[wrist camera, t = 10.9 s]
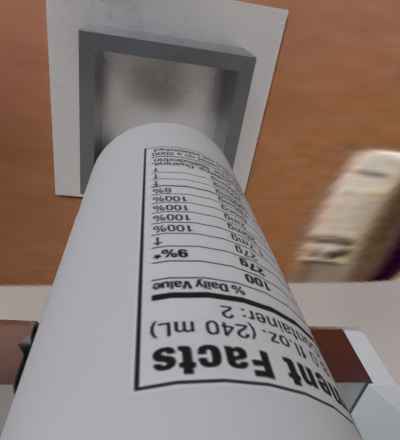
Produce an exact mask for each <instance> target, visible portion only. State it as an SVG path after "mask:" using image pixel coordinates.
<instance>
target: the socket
mask: <svg viewBox="0 0 400 440" xmlns="http://www.w3.org/2000/svg"><path fill="white" fill-rule="evenodd" d="M46 11H47V31H48V51H49V71H50V91H51V112H52V132H53V152H54V172H55V193H56V195H67V196H79V197H83V196H84V193H85V190H86V187H87V184H88V181H89V178H90V176H91V173H92V170H93V168H94V165H95V163H96V160H97V158H98V157H99V155H100V154H101V153H102V151H103V150H104V148H105V147H106V146H107V145H108V144H109V143H110V142H112V141H113V140H114V139H115V138H116V137H117V136H119V135H121V134H123V133H124V132H126V131H128V130H130V129H132V128H135V127H138V126H141V125H144V124H152V123H175V124H179V125H183V126H187V127H190V128H192V129H194V130H196V131H198V132H200V133H202V134H204V135H205V136H206V137H208V138H209V139H210V140H212V141H213V142H214V143H215V144H216V145H217V146H218V147H219V149H220V150H221V151H222V152H223V153H224V155H225V157H226V159H227V161H228V163H229V164H230V166H231V169H232V171H233V173H234V175H235V177H236V179H237V181H238V183H239V185H240V187H241V189H242V191H243V193H245V189H246V185H247V181H248V177H249V172H250V168H251V164H252V160H253V156H254V152H255V148H256V144H257V139H258V135H259V131H260V127H261V123H262V119H263V115H264V110H265V106H266V102H267V98H268V94H269V90H270V86H271V82H272V77H273V73H274V69H275V65H276V61H277V57H278V53H279V48H280V44H281V40H282V36H283V32H284V28H285V24H286V19H287V15H288V11H289V10H284V9H278V8H273V7H267V6H262V5H256V4H251V3H245V2H240V1H234V0H46Z"/></svg>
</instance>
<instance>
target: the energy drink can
mask: <svg viewBox="0 0 400 440" xmlns="http://www.w3.org/2000/svg"><path fill="white" fill-rule="evenodd" d="M0 440H363V438H362V436H361V434H360V432H359V430H358V428H357V426H356V424H355V422H354V420H353V418H352V416H351V414H350V412H349V410H348V408H347V406H346V403H345V401H344V399H343V397H342V395H341V393H340V391H339V389H338V387H337V385H336V383H335V381H334V379H333V377H332V375H331V373H330V370H329V368H328V366H327V364H326V362H325V360H324V358H323V356H322V354H321V352H320V350H319V348H318V346H317V344H316V342H315V340H314V338H313V335H312V333H311V331H310V329H309V327H308V325H307V323H306V321H305V319H304V317H303V315H302V313H301V311H300V309H299V307H298V305H297V302H296V300H295V298H294V296H293V294H292V292H291V290H290V288H289V286H288V284H287V282H286V280H285V278H284V276H283V274H282V272H281V269H280V267H279V265H278V263H277V261H276V259H275V257H274V255H273V253H272V251H271V249H270V247H269V245H268V243H267V241H266V239H265V237H264V234H263V232H262V230H261V228H260V226H259V224H258V222H257V220H256V218H255V216H254V214H253V212H252V210H251V208H250V206H249V204H248V201H247V199H246V197H245V195H244V193H243V191H242V189H241V187H240V185H239V183H238V181H237V179H236V177H235V175H234V173H233V171H232V169H231V166H230V164H229V163H228V161H227V159H226V157H225V155H224V153H223V152H222V151H221V150H220V149H219V147H218V146H217V145H216V144H215V143H214V142H213V141H212V140H210V139H209V138H208V137H206V136H205V135H204V134H202V133H200V132H198V131H196V130H194V129H192V128H190V127H187V126H183V125H179V124H175V123H152V124H144V125H141V126H138V127H135V128H132V129H130V130H128V131H126V132H124V133H123V134H121V135H119V136H117V137H116V138H115V139H114V140H113V141H112V142H110V143H109V144H108V145H107V146H106V147H105V148H104V150H103V151H102V153H101V154H100V155H99V157H98V158H97V160H96V163H95V165H94V168H93V170H92V173H91V176H90V178H89V181H88V184H87V187H86V190H85V193H84V196H83V199H82V202H81V205H80V208H79V210H78V213H77V216H76V219H75V222H74V225H73V228H72V231H71V234H70V237H69V239H68V242H67V245H66V248H65V251H64V254H63V257H62V260H61V263H60V266H59V269H58V271H57V274H56V277H55V280H54V283H53V286H52V289H51V292H50V295H49V298H48V300H47V304H46V306H45V309H44V312H43V315H42V318H41V321H40V324H39V327H38V330H37V332H36V335H35V338H34V341H33V344H32V347H31V350H30V353H29V356H28V359H27V361H26V364H25V367H24V370H23V373H22V376H21V379H20V382H19V385H18V388H17V391H16V393H15V396H14V399H13V402H12V405H11V408H10V411H9V414H8V417H7V420H6V422H5V425H4V428H3V431H2V434H1V437H0Z"/></svg>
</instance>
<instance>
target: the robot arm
mask: <svg viewBox="0 0 400 440" xmlns="http://www.w3.org/2000/svg"><path fill="white" fill-rule="evenodd" d="M38 327H39V323H38V322H37V321H19V320H18V321H17V320H0V437H1V434H2V431H3V428H4V425H5V422H6V420H7V417H8V414H9V411H10V408H11V405H12V402H13V399H14V396H15V393H16V391H17V388H18V385H19V382H20V379H21V376H22V373H23V370H24V367H25V364H26V361H27V359H28V356H29V353H30V350H31V347H32V344H33V341H34V338H35V335H36V332H37V330H38ZM308 327H309V329H310V331H311V333H312V335H313V338H314V340H315V342H316V344H317V346H318V348H319V350H320V352H321V354H322V356H323V358H324V360H325V362H326V364H327V366H328V368H329V370H330V373H331V375H332V377H333V379H334V381H335V383H336V385H337V387H338V389H339V391H340V393H341V395H342V397H343V399H344V401H345V403H346V406H347V408H348V410H349V412H350V414H351V416H352V418H353V420H354V422H355V424H356V426H357V428H358V430H359V432H360V434H361V436H362V438H363V440H400V384H395V382H394V381H393V379H392V378H391V376H390V375H389V373H388V371H387V370H386V368H385V367H384V365H383V363H382V362H381V360H380V359H379V357H378V355H377V354H376V352H375V351H374V349H373V348H372V346H371V344H370V343H369V341H368V339H367V338H366V336H365V335H364V333H363V332H362V330H360V329H359V328H358V327H314V326H312V327H310V326H308Z"/></svg>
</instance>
